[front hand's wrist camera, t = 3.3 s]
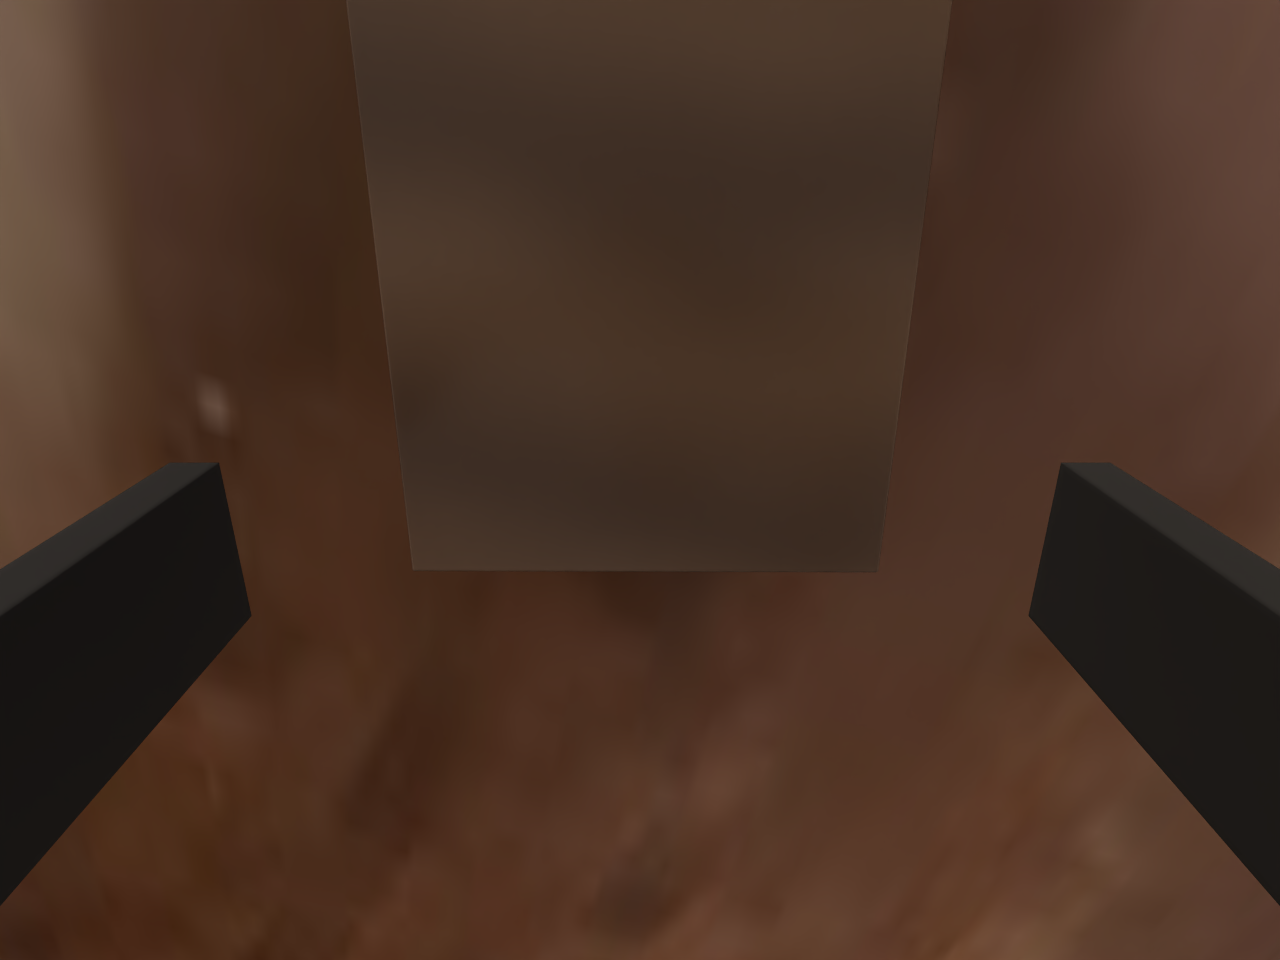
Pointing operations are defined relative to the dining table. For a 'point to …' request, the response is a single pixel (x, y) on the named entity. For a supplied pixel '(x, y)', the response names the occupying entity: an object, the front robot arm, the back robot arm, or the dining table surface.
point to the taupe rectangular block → (647, 273)
